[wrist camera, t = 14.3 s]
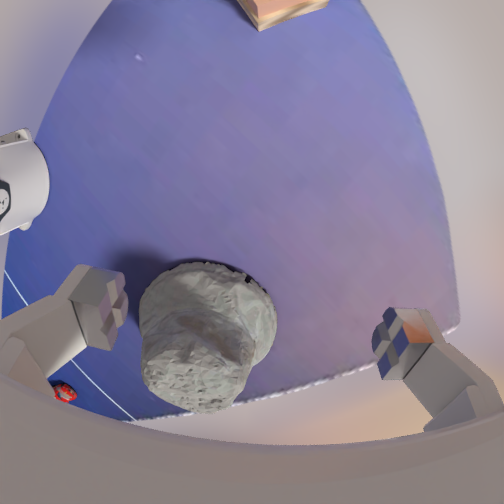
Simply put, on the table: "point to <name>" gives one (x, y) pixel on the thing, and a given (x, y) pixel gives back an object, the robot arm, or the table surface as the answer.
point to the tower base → (282, 13)
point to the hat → (203, 335)
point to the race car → (64, 392)
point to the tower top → (271, 6)
